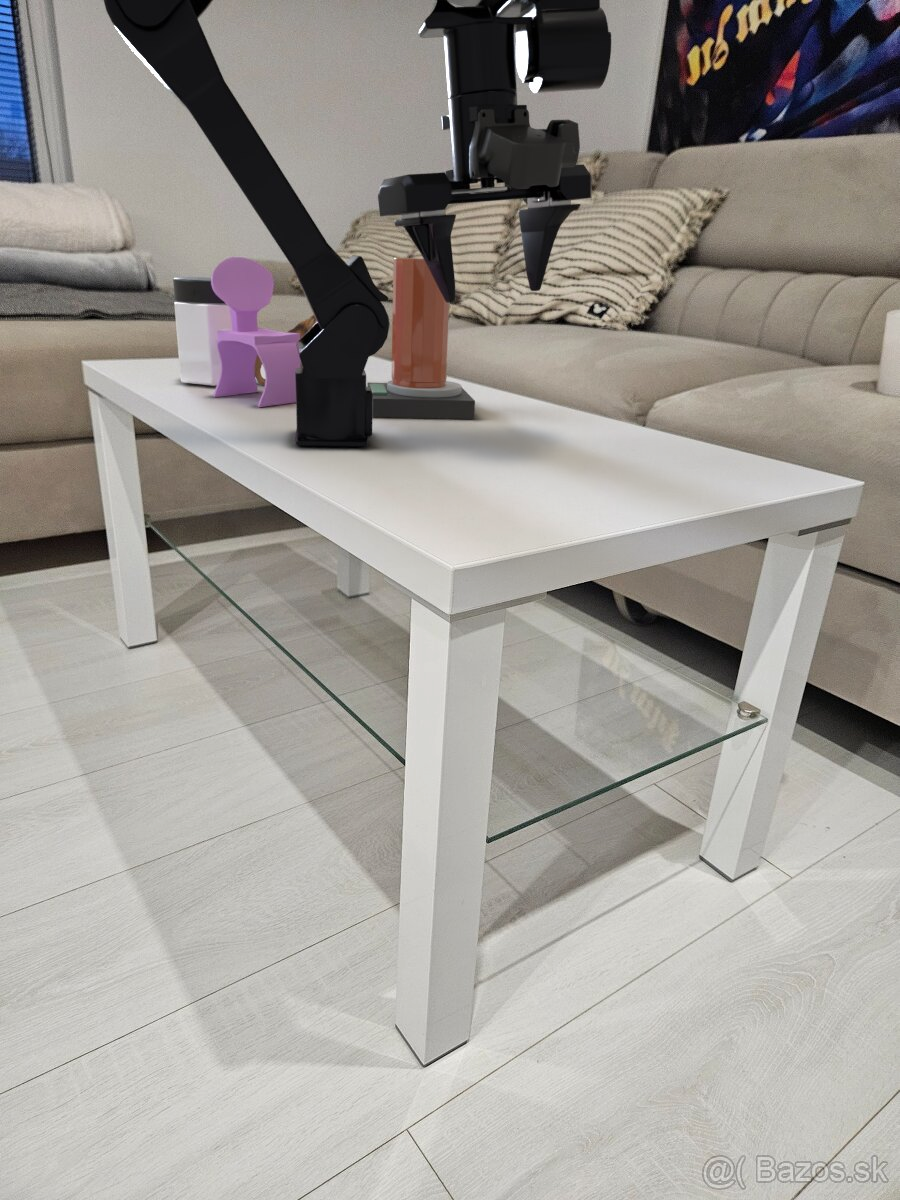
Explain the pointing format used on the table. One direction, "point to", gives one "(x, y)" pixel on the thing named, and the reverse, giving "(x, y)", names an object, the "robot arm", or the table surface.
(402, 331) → the cup
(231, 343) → the toy chair
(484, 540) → the table surface
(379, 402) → the scale
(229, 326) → the jar
